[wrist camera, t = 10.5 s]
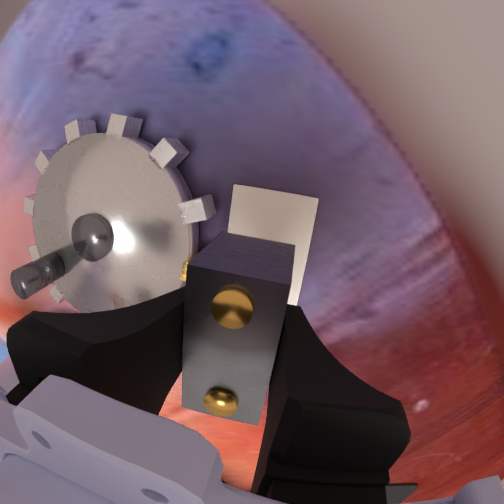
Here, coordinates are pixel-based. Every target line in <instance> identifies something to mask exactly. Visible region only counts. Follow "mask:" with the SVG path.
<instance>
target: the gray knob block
mask: <svg viewBox="0 0 504 504" xmlns="http://www.w3.org/2000/svg"><path fill="white" fill-rule="evenodd" d="M294 255H295V245H293V244H288V243H282V242H277V241H271V240H266V239H260V238H255V237H249V236H244V235H238V234H233V233H227V232H221V233H220V234H219V235H218V236H216V237H215V238H214V239H213V240H212V241H211V242H210V243H209V244H208V245H207V246H206V247H205V248H204V249H203V250H201V251H200V252H199V253H198V254H197V255H196V256H195V257H194V258H193V259H192V260H191V261H190V262H189V263H188V264H187V270H186V286H185V304H184V326H183V358H182V407H184V408H187V409H190V410H194V411H198V412H201V413H205V414H209V415H213V416H217V417H221V418H225V419H229V420H234V421H238V422H243V423H248V424H253V425H258V424H259V421H260V417H261V413H262V409H263V405H264V401H265V397H266V393H267V389H268V385H269V381H270V377H271V373H272V369H273V365H274V360H275V356H276V352H277V347H278V343H279V339H280V334H281V330H282V325H283V321H284V316H285V312H286V307H287V303H288V298H289V293H290V288H291V283H292V273H293V264H294Z"/></svg>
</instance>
